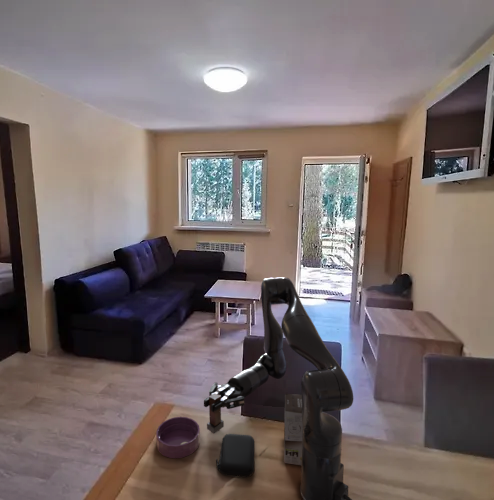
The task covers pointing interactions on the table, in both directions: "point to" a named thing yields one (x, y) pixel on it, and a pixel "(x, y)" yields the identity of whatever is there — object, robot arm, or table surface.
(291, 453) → the coffee box
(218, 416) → the brown wooden block
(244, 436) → the carrying case
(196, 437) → the bowl
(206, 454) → the table surface
